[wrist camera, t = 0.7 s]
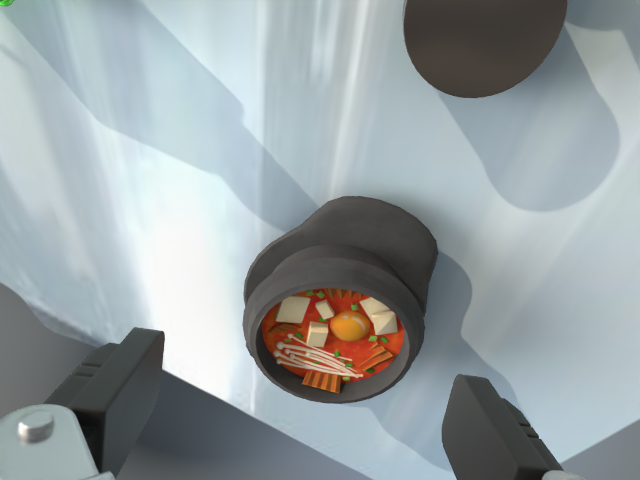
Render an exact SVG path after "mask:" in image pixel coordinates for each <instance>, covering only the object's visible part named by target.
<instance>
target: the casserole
mask: <svg viewBox="0 0 640 480" xmlns="http://www.w3.org/2000/svg"><path fill="white" fill-rule="evenodd" d="M437 256H438V250H437V244H436V240H435V239H434V237H433V236H432V234H431V233H430V231H429V230H428V228H427V227H425V226H424V225H423V224H422V223H421V222H420V221H419V220H418V219H417V218H416V217H414V216H413V215H411V214H409V213H408V212H406V211H405V210H403V209H401V208H400V207H398V206H395V205H392V204H390V203H387V202H384V201H382V200H378V199H372V198H367V197H362V196H346V197H341V198H338V199H335V200H332V201H328V202H327V203H326V204H325V205H323V206H322V207H321V208H320V209H319V210H317V211H316V212H315V213H314V214H313V215H312V216H311V217H310V218H308V219H307V220H306V221H305V222H304V223H303V224H302V225H301V226H299V227H297V228H295V229H294V230H292V231H290V232H289V233H287V234H285V235H283V236H282V237H280V238H278V239H277V240H275V241H273V242H272V243H270V244H269V245H268V246H267V247H266V248H265V249H264V250H263V251H262V252H261V253H260V254H259V255H258V256H257V258H256V259H255V261H254V262H253V263H252V265H251V266H250V269H249V271H248V274H247V277H246V280H245V285H244V302H245V310H244V317H243V330H244V336H245V340H246V347H247V349H248V351H249V353H250V355H251V356H252V357H253V358H254V360H255V362H256V364H257V366H258V367H259V368H260V370H261V371H262V373H263V374H264V375H265V376H266V377H267V378H268V379H269V380H270V381H271V382H272V383H274V384H275V385H277V386H278V387H280V388H281V389H283V390H284V391H286V392H288V393H291V394H293V395H295V396H297V397H300V398H303V399H307V400H310V401H315V402H321V403H335V404H342V403H352V402H358V401H362V400H366V399H370V398H372V397H374V396H377V395H379V394H382V393H383V392H385V391H387V390H388V389H390V388H391V387H393V386H394V385H395V384H396V383H398V382H399V381H400V380H401V379H402V378H403V377H404V375H405V374H406V372H407V371H408V370H409V368H410V366H411V364H412V362H413V361H414V359H415V358H416V357H417V355H418V353H419V351H420V348H421V346H422V343H423V339H424V330H425V326H424V319H423V318H424V315H425V312H426V304H427V294H428V283H429V281H430V278H431V275H432V272H433V270H434V267H435V263H436V260H437Z"/></svg>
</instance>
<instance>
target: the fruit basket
mask: <svg viewBox="0 0 640 480" xmlns="http://www.w3.org/2000/svg"><path fill="white" fill-rule="evenodd" d="M13 1H14V0H0V6H9V5H10V4H11V3H12V2H13Z"/></svg>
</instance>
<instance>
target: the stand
mask: <svg viewBox="0 0 640 480" xmlns="http://www.w3.org/2000/svg"><path fill="white" fill-rule="evenodd" d="M566 9H567V0H405V2H404V7H403V33H404V41H405V45H406V49H407V52H408V54H409V57H410V59H411V61H412V63H413V65H414V66H415V68H416V70H417V71H418V72H419V74H420V75H421V76H422V77H423V78H424V79H425V80H426V81H427V82H428V83H429V84H430V85H432V86H433V87H435V88H436V89H438V90H440V91H442V92H444V93H446V94H449V95H453V96H457V97H463V98H479V97H486V96H491V95H494V94H497V93H500V92H503V91H505V90H507V89H509V88H511V87H513V86H515V85H516V84H518V83H520V82H521V81H523V80H524V79H525V78H526V77H528V76H529V75H530V74H531V73H532V72H533V71H534V70H535V69H536V68H537V67H538V66H539V65H540V64H541V63H542V62H543V60H544V59H545V58H546V57H547V55H548V54H549V52H550V51H551V49H552V48H553V46H554V44H555V42H556V40H557V38H558V36H559V34H560V31H561V29H562V26H563V22H564V19H565V15H566Z"/></svg>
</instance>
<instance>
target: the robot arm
mask: <svg viewBox="0 0 640 480" xmlns="http://www.w3.org/2000/svg"><path fill="white" fill-rule="evenodd" d="M164 341H165V335H164V332H163V331H158V330H151V329H144V328H137V327H135V328H133V329H132V330H131V332H130V333H129V334H128V335H127V336H126V338H125V339H124V340H123V341H122V342H121V343H120V344H115V343H108V344H106V345H104V346H102V347H100V348H98V349H96V350H94V351H92V352H91V353H90V354H89V355H88V356H87V358H86V359H85V360H84V361H83V362H82V363H81V365H79V366H78V367H77V368H76V369H75V370H74V371H73V373H72V375H69V377H68V378H67V379H66V380H65V381H64V382H63V383H62V384H61V385H60V386H59V387H58V389H56V390H55V391H54V393H53V394H52V395H51V396H50V397H49V398H48V399H47V400H46V401H45V402H44V403H43V404H42V405H34V406H29V407H25V408H22V409H19V410H16V411H14V412H12V413H10V414H8V415H7V416H5V417H4V418H2V419H1V420H0V480H115V479H116V477H117V475H118V473H119V472H120V470H121V468H122V466H123V464H124V462H125V460H126V458H127V457H128V455H129V453H130V451H131V449H132V447H133V446H134V444H135V442H136V440H137V438H138V436H139V435H140V433H141V431H142V429H143V427H144V425H145V423H146V422H147V420H148V418H149V416H150V414H151V412H152V410H153V409H154V406H155V403H156V401H157V397H158V394H159V389H160V382H161V372H162V362H163V352H164ZM442 443H443V447H444V449H445V452H446V454H447V457H448V459H449V462H450V464H451V466H452V469H453V471H454V474H455V476H456V478H457V480H586V479H584V478H582V477H580V476H577V475H575V474H572V473H569V472H565V471H564V470H563V469H562V467H561V466H560V465H559V463H558V462H557V460H556V459H555V458H554V456H553V455H552V454H551V452H550V451H549V449H548V448H547V447H546V445H545V444H544V443H543V441H542V440H541V439H539V436H538V434H537V433H536V432H535V430H534V429H533V428H532V427H530V423H529V422H528V421H527V419H526V418H525V417H524V415H523V414H522V413H521V411H520V410H518V409H517V408H516V407H515V406H513V405H512V404H511V403H510V402H508V401H507V400H506V399H503V398H501V397H500V396H499V394H498V393H497V391H496V390H495V389H494V387H493V386H492V384H491V383H490V381H489V380H488V379H487V378H483V377H476V376H469V375H462V374H459V375H457V376H456V378H455V380H454V383H453V387H452V390H451V394H450V398H449V402H448V405H447V409H446V413H445V416H444V420H443V424H442Z"/></svg>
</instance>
